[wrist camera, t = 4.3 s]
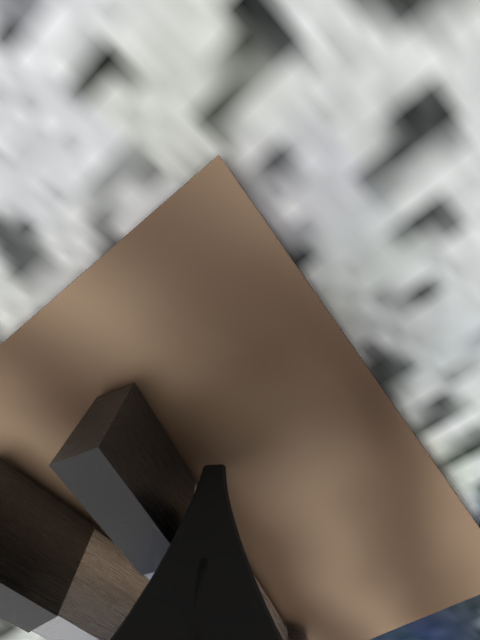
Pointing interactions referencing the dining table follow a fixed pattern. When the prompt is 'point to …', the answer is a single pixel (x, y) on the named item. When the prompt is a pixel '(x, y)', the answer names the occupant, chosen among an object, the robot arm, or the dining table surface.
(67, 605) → the fixed tong arm
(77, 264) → the dining table surface
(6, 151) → the dining table surface
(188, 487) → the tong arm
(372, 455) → the walnut board
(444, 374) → the dining table surface
